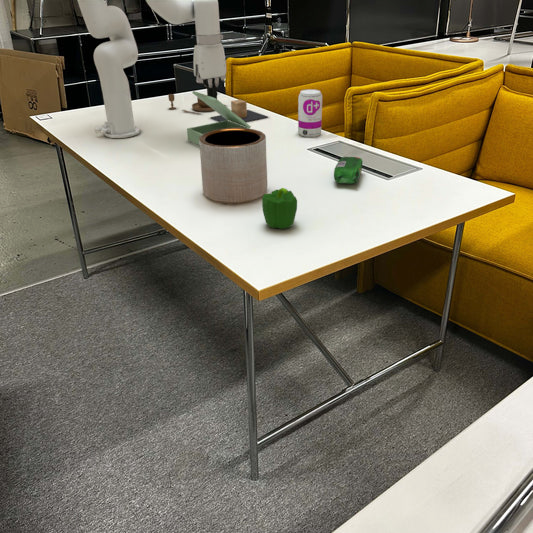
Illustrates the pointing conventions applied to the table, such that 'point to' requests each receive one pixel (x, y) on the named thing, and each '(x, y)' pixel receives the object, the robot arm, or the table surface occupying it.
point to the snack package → (348, 170)
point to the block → (239, 108)
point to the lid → (221, 109)
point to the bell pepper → (279, 208)
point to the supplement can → (309, 113)
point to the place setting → (193, 105)
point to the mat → (250, 117)
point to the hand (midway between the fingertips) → (212, 99)
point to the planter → (233, 164)
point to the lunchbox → (209, 129)
